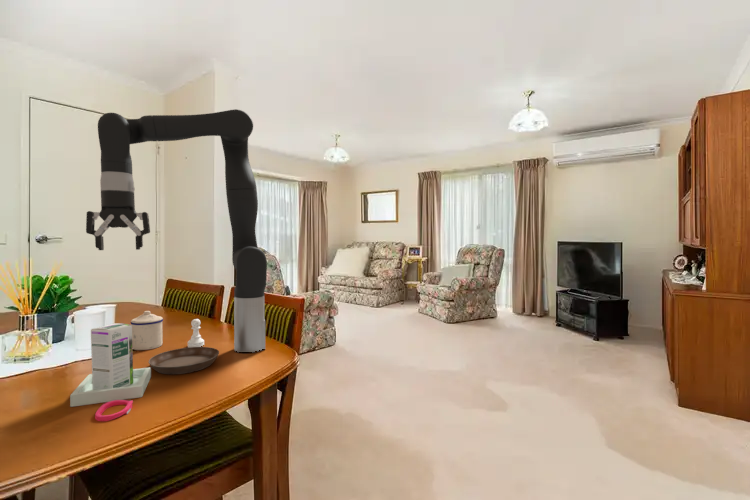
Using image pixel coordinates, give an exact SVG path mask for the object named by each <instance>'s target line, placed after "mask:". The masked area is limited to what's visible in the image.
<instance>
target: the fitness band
mask: <svg viewBox="0 0 750 500" xmlns="http://www.w3.org/2000/svg"><path fill="white" fill-rule="evenodd" d="M133 403H134V400H131V399H129V400H128V399H124V400H114V401H109V402H104V403H103V404H102V405H101V406H100V407H98V409H97V410H96V412H95V414H94V419H95V421H97V422H109V421H112V420H115V419H116V418H117V419H118V418H119V417H122V416H123V415H128V414H129V413H130V412H131V410H132V409H133ZM122 405H123V406H124V405H125V407H124V408H123V409H121V410H120V411H118V412H115V413H112V414H106V415H103V414H104V412H105V411H107V409H109V408H112V407H115V406H122Z"/></svg>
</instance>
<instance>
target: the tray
mask: <svg viewBox="0 0 750 500" xmlns="http://www.w3.org/2000/svg"><path fill="white" fill-rule="evenodd" d="M151 378H152V367H151V366H150V367H142V368H133V384H131V385H128V386H126V387H119V388H111V389H103V390H93V385H92V373H89V374H88V375H87V376H86V377H85V378H84V380H82V381H81V382H80V383H79V385H78V386H77V387H76V388H75V389H74V390H73V391H72V393H71V394H70V397H69V398H70V399H69V401H70V403H69V404H70V405H69V407H71V408H72V407H79V406H87V405H93V404H95V405H96V404H100V403H107V402H110V401H114V400H131V399H137V398H142V397H143V396H144V393H145V392H146V390H147V386H148V384H149V382H150V380H151Z"/></svg>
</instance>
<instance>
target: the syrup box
mask: <svg viewBox="0 0 750 500" xmlns="http://www.w3.org/2000/svg"><path fill="white" fill-rule="evenodd" d="M90 349H91V350H90V351H91V374H92V385H93V390H103V389H111V388H119V387H126V386H128V385H131V384H133V369H134V364H133V363H134V358H133V357H134V355H133V353H134V351H133V350H134V349H132V325H131V323H129V324H128V323H123V322H121V323H119V322H117V323H110V324H107V325H103V326H99V327H94V328H91V329H90Z"/></svg>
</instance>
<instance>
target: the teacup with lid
mask: <svg viewBox="0 0 750 500" xmlns="http://www.w3.org/2000/svg"><path fill="white" fill-rule="evenodd" d="M163 322H164V318H163V317H162V316H159V315H156V314H154V313H151V311H150V310H145V311H143V313H142V314H140V315H139V316H137V317H135V318H134V317H133V319H131V320H130V325H132V350H135V351H147V350H148V351H149V350H154V349H157V348H160V347H161V346H163Z"/></svg>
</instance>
